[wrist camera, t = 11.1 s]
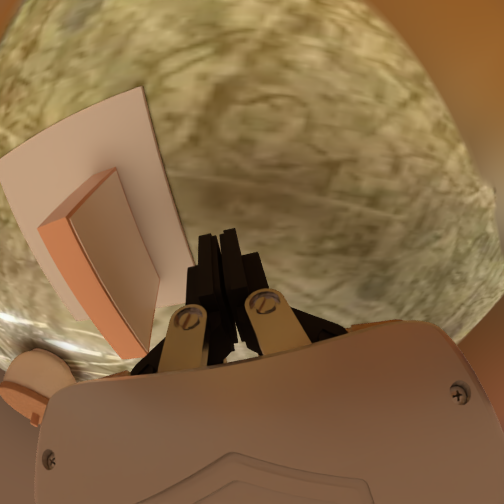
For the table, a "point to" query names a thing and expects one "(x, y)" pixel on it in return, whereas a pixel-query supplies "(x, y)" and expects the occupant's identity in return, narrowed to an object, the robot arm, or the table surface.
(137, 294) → the block
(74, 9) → the table surface
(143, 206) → the mat
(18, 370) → the lidded jar
